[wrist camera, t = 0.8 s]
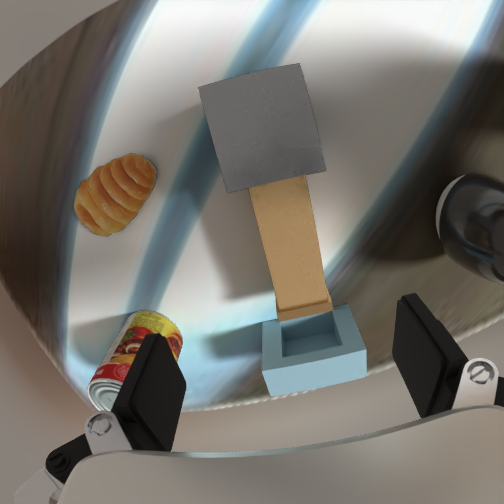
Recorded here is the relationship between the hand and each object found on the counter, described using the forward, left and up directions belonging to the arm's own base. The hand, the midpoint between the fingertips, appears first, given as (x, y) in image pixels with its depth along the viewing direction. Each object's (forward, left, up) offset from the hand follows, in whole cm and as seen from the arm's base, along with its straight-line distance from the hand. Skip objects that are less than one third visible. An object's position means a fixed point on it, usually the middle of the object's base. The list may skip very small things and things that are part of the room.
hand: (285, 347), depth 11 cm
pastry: (+15, -6, -20) cm, 26 cm away
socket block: (-1, +14, -20) cm, 24 cm away
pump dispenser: (-21, +4, -20) cm, 29 cm away
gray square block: (-1, -8, -20) cm, 21 cm away
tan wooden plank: (-1, -2, -18) cm, 18 cm away
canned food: (+18, +12, -20) cm, 29 cm away
